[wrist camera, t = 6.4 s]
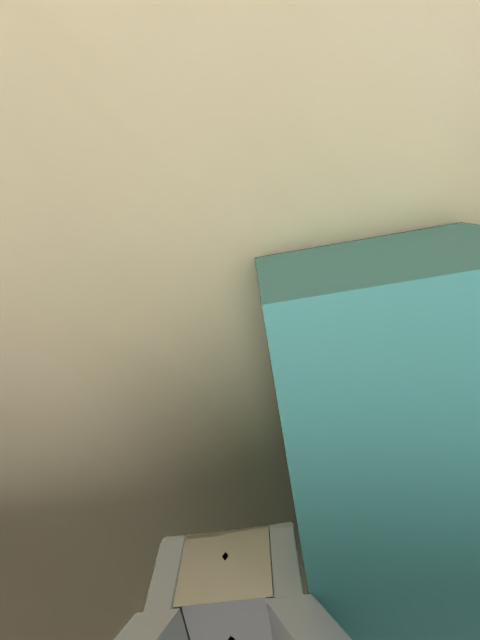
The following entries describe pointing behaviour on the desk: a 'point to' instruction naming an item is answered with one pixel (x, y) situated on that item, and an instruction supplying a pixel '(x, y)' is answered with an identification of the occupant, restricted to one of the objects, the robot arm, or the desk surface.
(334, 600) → the t block
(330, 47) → the desk surface
